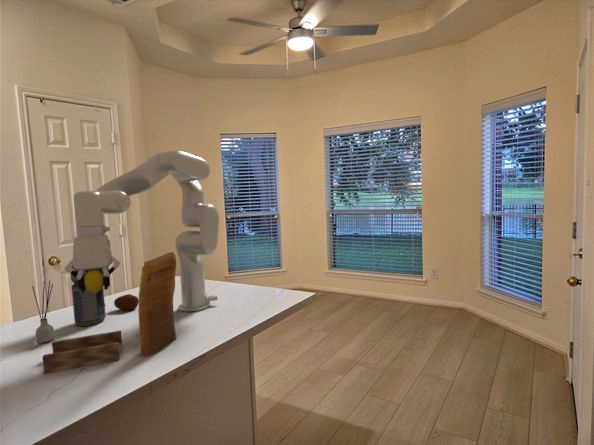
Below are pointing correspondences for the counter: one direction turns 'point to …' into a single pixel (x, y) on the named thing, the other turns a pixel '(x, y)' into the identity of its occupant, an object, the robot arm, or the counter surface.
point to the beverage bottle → (87, 303)
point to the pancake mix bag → (157, 304)
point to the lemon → (94, 280)
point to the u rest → (83, 352)
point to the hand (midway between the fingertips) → (95, 289)
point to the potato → (126, 302)
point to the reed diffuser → (43, 324)
